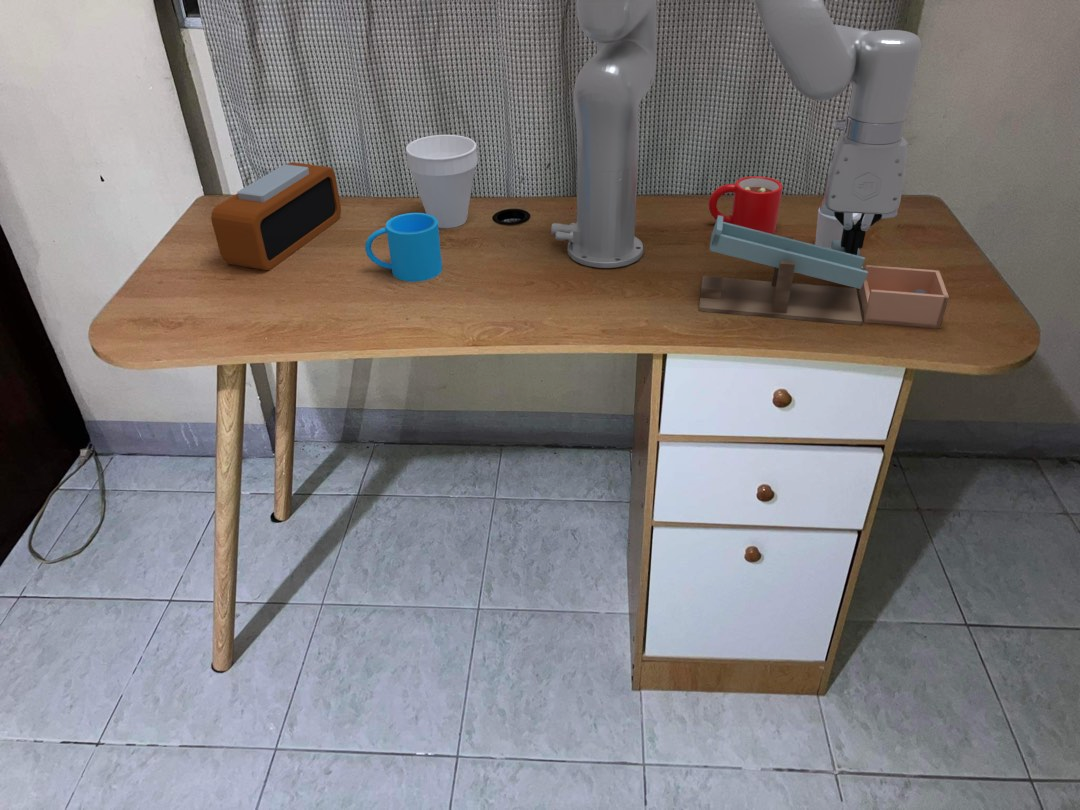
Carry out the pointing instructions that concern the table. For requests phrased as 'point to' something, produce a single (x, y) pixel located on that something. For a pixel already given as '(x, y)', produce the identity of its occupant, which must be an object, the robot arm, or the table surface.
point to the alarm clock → (276, 215)
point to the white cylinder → (830, 229)
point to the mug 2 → (751, 203)
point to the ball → (920, 291)
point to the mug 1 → (411, 247)
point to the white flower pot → (444, 175)
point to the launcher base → (780, 298)
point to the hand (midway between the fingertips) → (850, 251)
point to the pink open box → (903, 297)
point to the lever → (789, 253)
